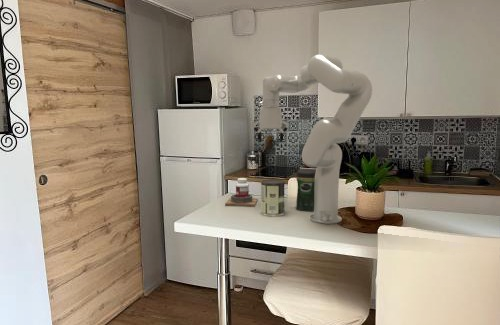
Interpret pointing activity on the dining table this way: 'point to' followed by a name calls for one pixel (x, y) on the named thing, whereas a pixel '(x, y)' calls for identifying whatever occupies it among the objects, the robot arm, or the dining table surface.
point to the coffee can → (272, 197)
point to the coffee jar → (305, 189)
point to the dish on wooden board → (241, 201)
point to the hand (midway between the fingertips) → (270, 141)
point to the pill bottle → (242, 188)
